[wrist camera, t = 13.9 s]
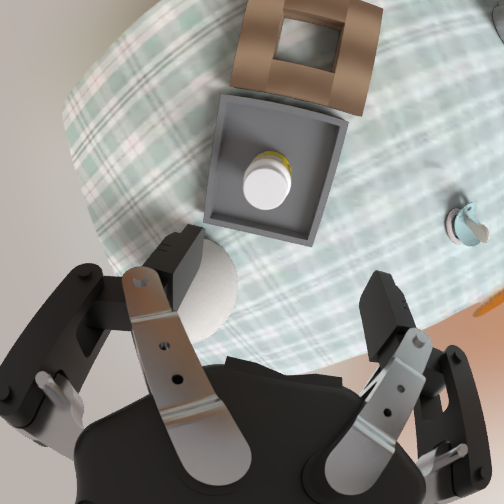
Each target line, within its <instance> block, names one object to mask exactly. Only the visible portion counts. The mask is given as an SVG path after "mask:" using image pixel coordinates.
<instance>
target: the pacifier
mask: <svg viewBox="0 0 504 504" xmlns="http://www.w3.org/2000/svg"><path fill="white" fill-rule="evenodd" d="M469 207H470V209H469V210H467V209H468V208H469ZM475 213H476V205H475V204H474V203H473V202H470V203H468V204H466V205H465V206H464V207H463V208H462V209H453V210H452V211H451V212H450V213H449V215H448V217H447V222H446V227H447V233H448V235H449V237H450V239H451V240H452V242H454V243H455V244H462V243H463V244H465V245H467V246H476V245H477V244H479V243H480V241H481V242H483V243H487V242H488V241H489V238H490V234H489V231H488V229H487V227H486V226H484V225H483V224H480V222H479V221H478V220H477V219H476V218H475ZM455 215H457V216H456V218H455V223H454V227H455V232H456V234H457V236H458V238H456V237H455V236H454V234H453V231H452V220H453V218H454V216H455Z"/></svg>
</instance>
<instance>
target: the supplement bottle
mask: <svg viewBox="0 0 504 504" xmlns="http://www.w3.org/2000/svg"><path fill="white" fill-rule="evenodd" d="M290 188H291V165H290V162H289V160H288V159H287V157H286V156H285V155H284V154H282V153H280V152H278V151H275V150H266V151H263V152H261V153H259V154H258V155H257V156H256V157H255V158H254V159H253V161H252V162H251V164H250V165H249V166H248V168H247V169H246V171H245V174H244V178H243V192H244V196H245V198H246V199H247V201H248V202H249V203H250V204H251V205H252V206H254V207H256V208H258V209H262V210H270V209H274V208H276V207H278V206H279V205H280V204H281V203H282V202H283V201H284V199H285V197H286V196H287V195H288V193H289V191H290Z"/></svg>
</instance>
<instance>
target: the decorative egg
mask: <svg viewBox="0 0 504 504" xmlns="http://www.w3.org/2000/svg"><path fill="white" fill-rule="evenodd" d="M237 293H238V277H237V272H236V268H235V265H234V263H233V261H232V259H231V258H230V256H229V255H228V253H227V252H226V251H225V250H224V249H223V248H222V247H220V246H219V245H217V244H216V243H214V242H212V241H210V240H207V239H204V244H203V253H202V260H201V264H200V268H199V270H198V272H197V274H196V276H195V278H194V280H193V281H192V283H191V285H190V287H189V289H188V291H187V293H186V295H185V297H184V299H183V301H182V303H181V305H180V307H179V309H178V311H177V313H178V315H179V317H180V319H181V322H182V324H183V326H184V329H185V331H186V333H187V335H188V338H189V340H190V342H191V344H195V343H197V342H200V341H202V340H204V339H206V338H208V337H209V336H211V335H212V334H213V333H215V332H216V331H217V330H218V329H219V328H220V327H221V326H222V325H223V324H224V322H225V321H226V319H227V318H228V316H229V315H230V313H231V311H232V309H233V307H234V304H235V301H236V297H237Z"/></svg>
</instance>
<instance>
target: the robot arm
mask: <svg viewBox="0 0 504 504" xmlns="http://www.w3.org/2000/svg"><path fill="white" fill-rule="evenodd" d="M493 20H494V24H495V27H496V29H497V31H498V34H499V35H500V37H501V39H502V41H503V42H504V1H500V2H498V6H497V7H495V8H494V9H493ZM204 234H205V228H203V227H199V226H195V225H190V224H188V225H187V226H186V227H185V229H184V230H183V231H182V232H181V233H177V232H174V233H172V234H170V235H168V236H166V237H165V238H164V240H163V241H162V242H161V244H159V246H158V247H157V249H155V251H154V252H153V253H152V254H151V256H150V257H149V258H148V259H147V261H146V262H145V263H144V264H143V266H142V267H134V268H131V269H129V270H127V271H126V272H125V273H124V274H123V276H122V277H115V276H103V273H102V269H101V268H100V267H99V266H98V265H96V264H92V263H85V264H81V265H78V266H77V267H75V268H74V269H72V270H71V272H70V273H69V274H68V275H67V276H66V277H65V279H64V280H63V281H62V282H61V283H60V284H59V286H58V287H57V288H56V289H55V291H54V292H53V293H52V294H51V295H50V296H49V298H48V299H47V300H46V302H45V303H44V304H43V305H42V307H41V308H40V309H39V310H38V312H37V313H36V314H35V316H34V317H33V318H32V320H31V321H30V322H29V324H28V325H27V327H26V328H25V329H24V331H23V332H22V334H21V335H20V337H19V338H18V339H17V341H16V342H15V344H14V346H13V347H12V348H11V350H10V351H9V353H8V355H7V356H6V358H5V359H4V361H3V363H2V364H1V366H0V416H1V417H2V418H4V419H5V420H6V421H7V423H8V424H9V425H11V426H12V427H13V428H15V429H16V430H17V431H19V432H20V433H21V434H23V435H24V436H25V437H27V438H29V439H31V440H33V441H34V442H36V443H38V444H39V445H41V446H44V447H50V448H52V449H53V450H55V451H57V452H58V453H60V454H61V455H63V456H65V457H67V458H69V459H71V460H72V461H74V465H75V470H76V478H77V497H76V502H75V504H447V503H450V502H453V501H455V500H458V499H461V498H463V497H466V496H468V495H471V494H473V493H475V492H478V491H480V490H482V489H484V488H486V486H487V485H488V484H489V482H490V480H491V476H492V465H491V457H490V450H489V442H488V436H487V431H486V425H485V421H484V416H483V412H482V407H481V404H480V399H479V396H478V392H477V388H476V385H475V382H474V379H473V375H472V372H471V369H470V366H469V363H468V360H467V357H466V355H465V353H464V352H463V351H462V350H461V349H460V348H459V347H457V346H454V345H450V346H448V347H447V348H446V350H445V351H444V352H442V351H440V350H438V349H436V348H433V347H432V341H431V339H430V338H429V336H428V335H427V334H426V333H425V332H424V331H422V330H420V329H418V328H416V325H415V323H414V320H413V317H412V315H411V312H410V309H409V307H408V304H407V303H406V299H405V297H404V294H403V293H402V292H401V290H400V289H399V288H398V287H397V286H396V285H395V283H394V280H393V278H392V276H391V274H389V273H385V272H381V271H377V270H376V271H374V273H373V274H372V276H371V278H370V280H369V282H368V284H367V286H366V287H365V289H364V291H363V293H362V295H361V298H360V301H359V309H360V314H361V318H362V323H363V328H364V334H365V339H366V344H367V350H368V356H369V361H370V362H378V363H379V365H380V366H379V367H378V368H377V369H376V370H375V372H374V373H373V375H372V376H371V378H370V379H369V380H368V382H367V383H366V385H365V386H364V388H363V389H362V390H361V391H360V393H359V394H358V395H357V394H356V393H355V392H353V391H352V390H350V389H348V388H346V387H344V386H342V377H335V376H327V375H320V374H306V375H283V374H281V373H279V372H276V371H274V370H272V369H269V368H267V367H265V366H262V365H260V364H258V363H255V362H250V361H246V360H241V359H237V358H233V357H229V356H227V358H226V361H225V364H213V365H207V366H201V364H200V361H199V359H198V357H197V355H196V353H195V351H194V349H193V347H192V344H191V342H190V340H189V338H188V335H187V333H186V331H185V329H184V326H183V324H182V322H181V319H180V317H179V315H178V313H177V311H178V309H179V307H180V305H181V303H182V301H183V299H184V297H185V295H186V293H187V291H188V289H189V287H190V285H191V283H192V281H193V280H194V278H195V276H196V274H197V272H198V270H199V268H200V264H201V260H202V253H203V244H204ZM111 330H121V331H131V334H132V338H133V342H134V345H135V349H136V353H137V356H138V359H139V363H140V366H141V370H142V373H143V376H144V380H145V383H146V386H147V389H148V392H149V394H148V395H146V396H145V397H143V398H141V399H139V400H137V401H135V402H133V403H132V404H129V405H128V406H126V407H124V408H122V409H120V410H118V411H116V412H114V413H112V414H110V415H108V416H106V417H104V418H102V419H99V420H97V421H95V422H93V423H92V424H90V425H89V426H87V427H86V428H85V429H84V428H83V424H82V417H83V413H84V404H83V401H82V399H81V397H80V396H79V391H80V389H81V387H82V385H83V383H84V381H85V379H86V377H87V375H88V373H89V371H90V369H91V367H92V365H93V363H94V361H95V359H96V357H97V355H98V354H99V352H100V349H101V348H102V346H103V344H104V342H105V340H106V338H107V337H108V335H109V333H110V331H111ZM444 388H446V389H447V393H448V398H449V405H448V407H447V409H446V410H445V411H444V412H443V411H442V406H441V400H440V396H439V393H440V392H441V391H442V390H443V389H444ZM413 408H414V416H415V425H416V435H417V449H418V461H417V463H416V464H415V463H414V462H413V461H412V459H411V458H410V457H409V456H408V454H407V453H406V452H405V451H404V449H403V448H402V447H401V446H400V444H399V443H398V442H397V439H398V437H399V435H400V434H401V432H402V430H403V428H404V426H405V424H406V422H407V420H408V418H409V416H410V414H411V412H412V410H413Z"/></svg>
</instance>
